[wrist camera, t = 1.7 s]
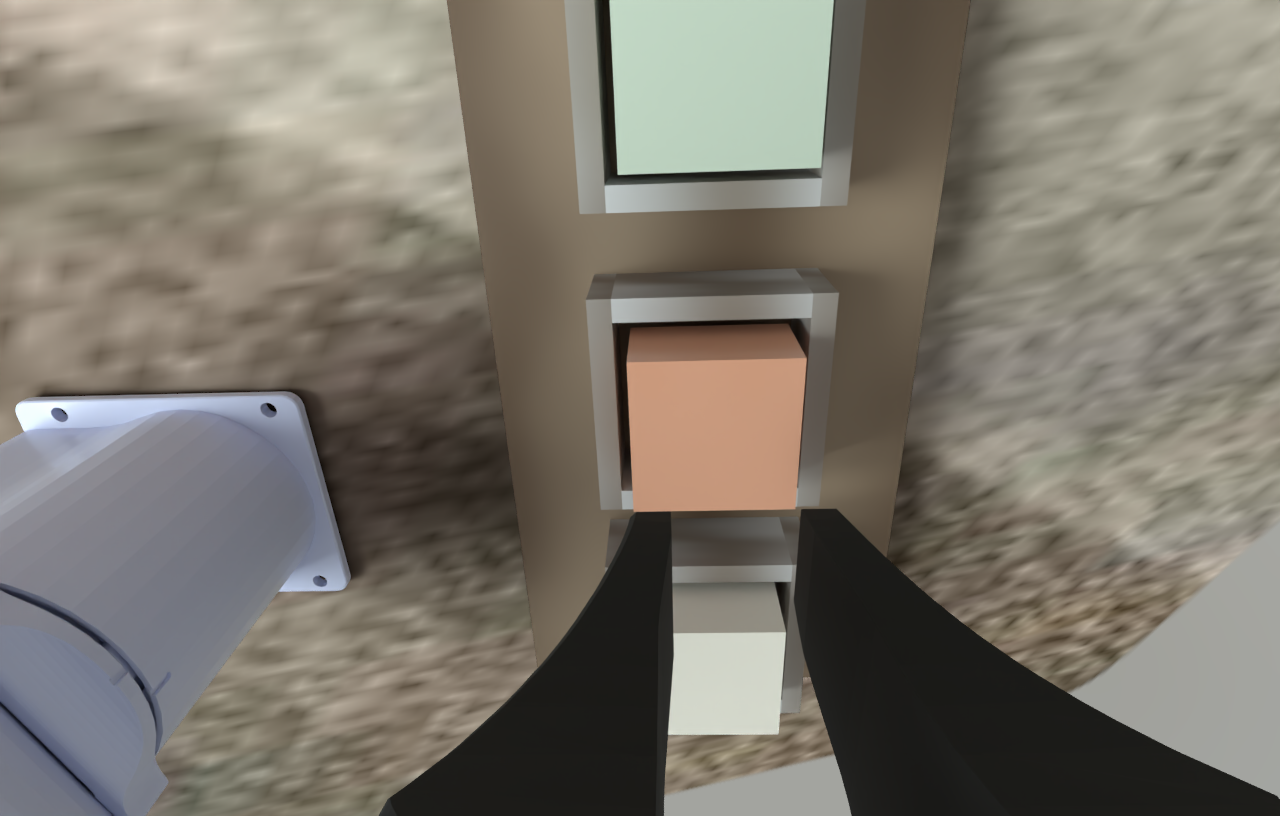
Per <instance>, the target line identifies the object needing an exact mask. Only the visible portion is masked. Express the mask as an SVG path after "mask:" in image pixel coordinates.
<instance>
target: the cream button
mask: <svg viewBox="0 0 1280 816" xmlns="http://www.w3.org/2000/svg"><path fill="white" fill-rule="evenodd" d="M673 637H674V660H673V673H672V687H671V700H670V714H669V727H668V735H744V734H778V732H779V719H780V706H781V692H782V679H783V666H784V653H785V639H786V630H785V626H784V621H783V617H782V613H781V609H780V604H779V600H778V596H777V592H776V587H775V583H774V582H719V583H673Z"/></svg>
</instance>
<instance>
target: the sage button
mask: <svg viewBox="0 0 1280 816" xmlns="http://www.w3.org/2000/svg"><path fill="white" fill-rule="evenodd" d="M833 3H834V0H610V21H611V42H612V64H613V85H614V106H615V127H616V149H617V170H618V175H628V174H657V173H686V172H715V171H745V170H774V169H803V168H821V162H822V149H823V136H824V122H825V109H826V96H827V83H828V69H829V56H830V43H831V30H832V16H833Z"/></svg>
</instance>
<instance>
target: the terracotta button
mask: <svg viewBox="0 0 1280 816" xmlns="http://www.w3.org/2000/svg"><path fill="white" fill-rule="evenodd" d="M806 361H807V358H806V356H805V354H804V352H803V350H802V349H801V347H800V345H799V343H798V341H797V339H796V337H795V336H794V334H793V332H792V330H791V328H790V326H789V325H788V324H752V325H714V326H676V327H638V328H630V336H629V345H628V354H627V382H628V404H629V425H630V446H631V467H632V489H633V510H634V512H657V511H720V510H782V509H795V507H796V494H797V480H798V467H799V454H800V441H801V427H802V414H803V401H804V388H805V374H806Z"/></svg>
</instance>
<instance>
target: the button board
mask: <svg viewBox="0 0 1280 816" xmlns="http://www.w3.org/2000/svg"><path fill="white" fill-rule="evenodd" d="M970 1H971V0H834V3H833V16H832V30H831V43H830V56H829V69H828V83H827V96H826V109H825V122H824V136H823V149H822V162H821V168H803V169H774V170H745V171H715V172H686V173H657V174H628V175H618V170H617V149H616V127H615V106H614V85H613V64H612V42H611V21H610V0H447V5H448V12H449V19H450V27H451V34H452V42H453V49H454V56H455V64H456V71H457V78H458V86H459V93H460V100H461V108H462V115H463V122H464V130H465V137H466V145H467V152H468V159H469V167H470V174H471V181H472V189H473V196H474V203H475V211H476V218H477V225H478V233H479V240H480V248H481V255H482V262H483V270H484V277H485V284H486V292H487V299H488V306H489V314H490V321H491V328H492V336H493V343H494V350H495V358H496V365H497V373H498V380H499V387H500V395H501V402H502V409H503V417H504V424H505V431H506V439H507V446H508V453H509V461H510V468H511V476H512V483H513V490H514V498H515V505H516V512H517V520H518V527H519V534H520V542H521V549H522V556H523V564H524V571H525V579H526V586H527V593H528V601H529V608H530V615H531V623H532V630H533V637H534V645H535V652H536V659H537V667H539V666H540V665H541V664H542V663H543V662H544V660H545V659H546V658H547V657H548V656H549V654H550V653H551V652H552V651H553V649H554V648H555V647H556V646H557V645H558V643H559V642H560V641H561V639H562V638H563V637H564V636H565V634H566V633H567V631H568V630H569V629H570V627H571V626H572V625H573V623H574V622H575V620H576V619H577V617H578V616H579V614H580V613H581V611H582V610H583V608H584V607H585V605H586V604H587V602H588V601H589V599H590V598H591V596H592V595H593V593H594V592H595V590H596V588H597V587H598V585H599V583H600V582H601V580H602V578H603V576H604V574H605V573H606V571H607V569H608V567H609V565H610V564H611V562H612V560H613V558H614V556H615V554H616V552H617V550H618V548H619V546H620V544H621V541H622V539H623V537H624V534H625V532H626V529H627V526H628V523H629V520H630V517H631V516H632V515H633V514H634V513H636V512H634V510H633V489H632V467H631V446H630V425H629V404H628V382H627V354H628V345H629V336H630V328H638V327H676V326H714V325H752V324H788V325H789V326H790V328H791V330H792V332H793V334H794V336H795V337H796V339H797V341H798V343H799V345H800V347H801V349H802V350H803V352H804V354H805V356H806V358H807V361H806V374H805V388H804V401H803V414H802V427H801V441H800V454H799V467H798V480H797V494H796V507H795V509H782V510H720V511H671V531H672V583H719V582H774V583H775V587H776V592H777V596H778V600H779V604H780V609H781V613H782V617H783V621H784V626H785V630H786V639H785V653H784V666H783V679H782V692H781V706H780V713H800V705H801V695H802V684H803V677H810V674H809V671H808V668H807V664H806V661H805V658H804V654H803V650H802V644H801V639H800V634H799V629H798V623H797V617H796V611H795V606H794V591H795V578H796V566H797V553H798V540H799V528H800V515H801V509H837V510H838V511H839V512H840V513H841V514H842V515H843V516H844V517H845V518H846V519H847V520H849V521H850V522H851V523H852V524H853V525H854V526H855V527H856V528H857V529H858V530H859V531H860V532H861V533H862V534H863V535H864V536H865V537H866V538H867V539H868V540H869V541H870V542H871V543H872V544H873V545H874V546H875V547H876V548H877V549H878V550H879V551H880V552H881V553H882V554H883V555H884V556H885V557H886V558H887V554H888V547H889V540H890V534H891V527H892V520H893V514H894V507H895V501H896V494H897V487H898V481H899V474H900V467H901V461H902V454H903V447H904V441H905V434H906V427H907V421H908V414H909V407H910V401H911V394H912V387H913V381H914V374H915V367H916V361H917V354H918V347H919V341H920V334H921V328H922V321H923V314H924V308H925V301H926V294H927V288H928V281H929V274H930V268H931V261H932V254H933V248H934V241H935V234H936V228H937V221H938V214H939V208H940V201H941V194H942V188H943V181H944V174H945V168H946V161H947V155H948V148H949V141H950V135H951V128H952V121H953V115H954V108H955V101H956V95H957V88H958V81H959V75H960V68H961V61H962V55H963V48H964V41H965V35H966V28H967V21H968V15H969V8H970Z"/></svg>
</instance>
